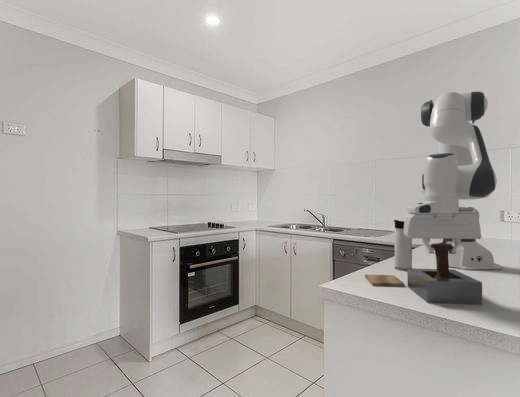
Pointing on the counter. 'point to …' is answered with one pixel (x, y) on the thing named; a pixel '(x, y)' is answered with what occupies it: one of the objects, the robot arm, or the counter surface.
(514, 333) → the counter surface
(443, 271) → the bolt
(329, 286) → the counter surface
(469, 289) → the socket block
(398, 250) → the travel mug
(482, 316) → the counter surface
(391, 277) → the walnut pad
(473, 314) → the counter surface
